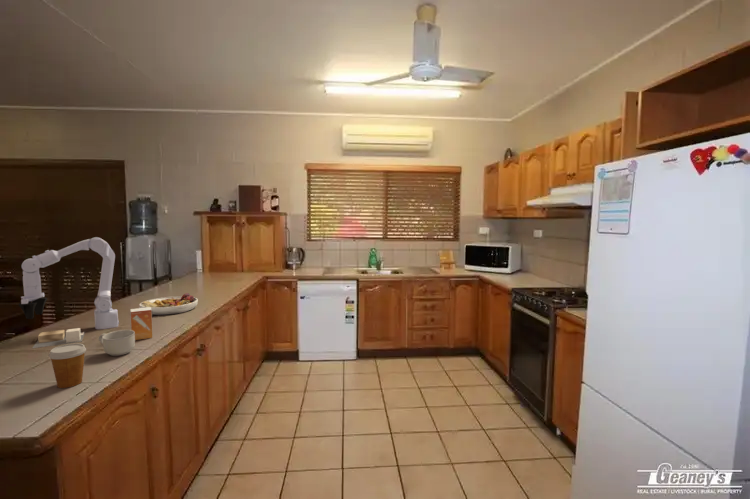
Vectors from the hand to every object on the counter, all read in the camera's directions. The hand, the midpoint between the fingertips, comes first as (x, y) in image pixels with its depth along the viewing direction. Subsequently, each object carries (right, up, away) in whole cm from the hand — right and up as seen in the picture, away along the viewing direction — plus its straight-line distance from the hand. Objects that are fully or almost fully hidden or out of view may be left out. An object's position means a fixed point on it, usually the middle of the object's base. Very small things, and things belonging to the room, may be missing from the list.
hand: (34, 316), depth 168 cm
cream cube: (+20, -10, -3) cm, 22 cm away
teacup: (+47, -12, -15) cm, 50 cm away
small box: (+45, -10, +4) cm, 46 cm away
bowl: (+30, -6, +55) cm, 63 cm away
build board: (+13, -10, -2) cm, 17 cm away
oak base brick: (+10, -10, -2) cm, 14 cm away
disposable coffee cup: (+50, -15, -44) cm, 68 cm away
